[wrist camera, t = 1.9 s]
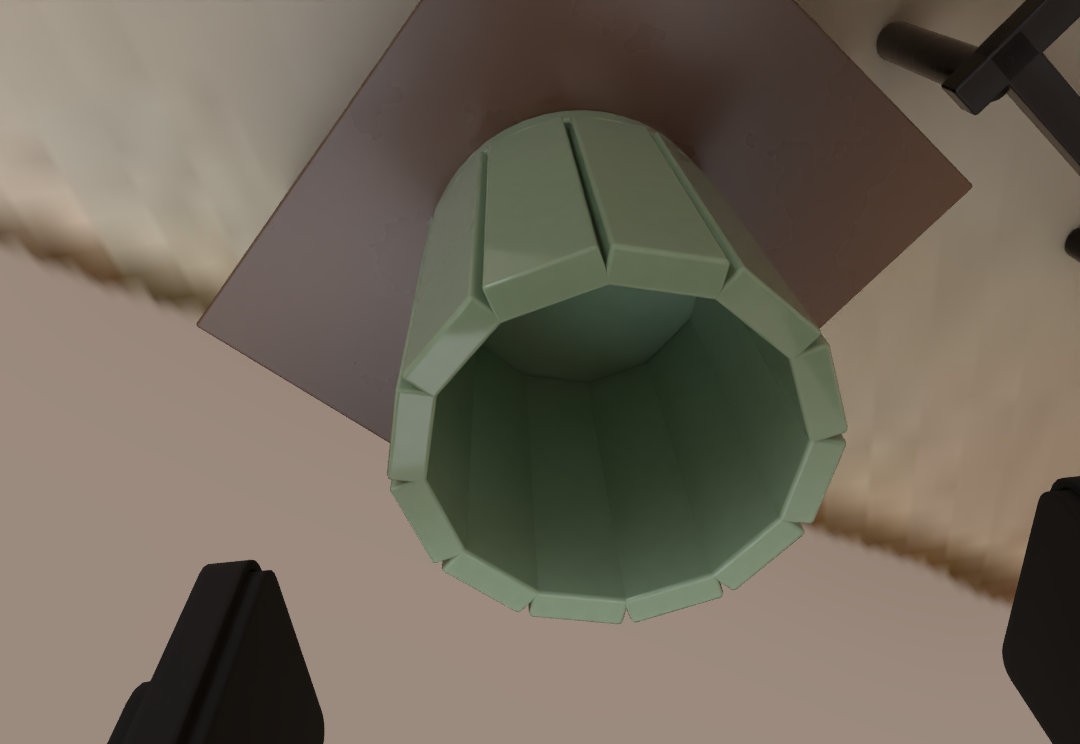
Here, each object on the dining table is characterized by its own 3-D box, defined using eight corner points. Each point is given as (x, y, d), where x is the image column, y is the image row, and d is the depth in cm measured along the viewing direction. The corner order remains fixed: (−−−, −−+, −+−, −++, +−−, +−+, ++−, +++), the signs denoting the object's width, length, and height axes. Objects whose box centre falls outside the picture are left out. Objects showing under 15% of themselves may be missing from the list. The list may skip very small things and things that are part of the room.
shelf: (286, 193, 29) (195, 325, 20) (548, -184, 23) (577, -225, 15) (554, 379, 33) (574, 555, 24) (825, 93, 28) (974, 186, 19)
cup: (370, 279, 20) (301, 494, 13) (558, 39, 17) (599, 143, 10) (589, 428, 22) (630, 677, 15) (780, 236, 19) (936, 428, 13)
